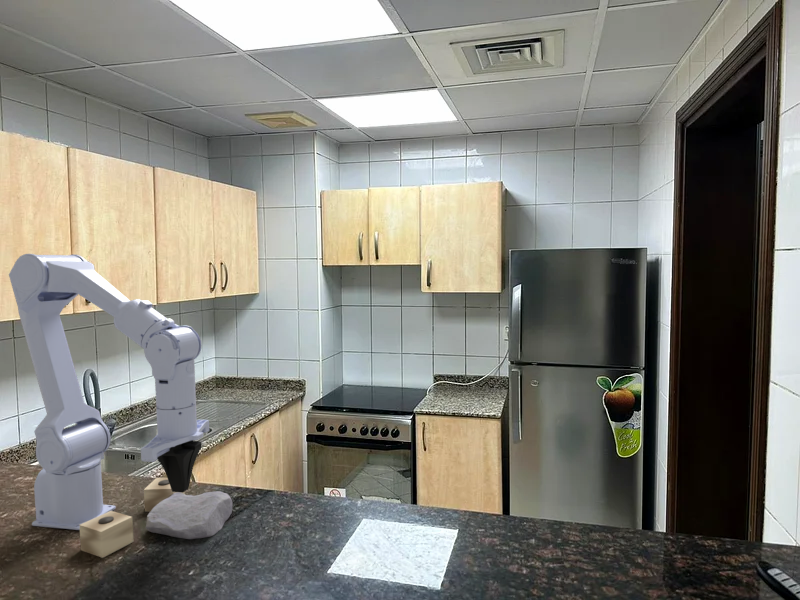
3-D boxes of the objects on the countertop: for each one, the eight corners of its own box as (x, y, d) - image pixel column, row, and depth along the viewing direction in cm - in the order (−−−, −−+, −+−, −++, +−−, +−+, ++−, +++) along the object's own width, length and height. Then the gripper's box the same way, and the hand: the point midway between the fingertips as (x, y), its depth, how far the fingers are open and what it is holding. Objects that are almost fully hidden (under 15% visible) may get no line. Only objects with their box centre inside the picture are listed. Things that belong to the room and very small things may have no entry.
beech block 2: (145, 512, 91) (143, 488, 91) (157, 499, 96) (156, 476, 96) (174, 511, 91) (173, 487, 91) (185, 498, 96) (184, 476, 96)
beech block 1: (81, 551, 79) (79, 523, 79) (112, 535, 84) (110, 509, 83) (102, 558, 77) (100, 530, 77) (133, 542, 81) (132, 515, 81)
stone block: (214, 551, 82) (237, 509, 91) (208, 524, 80) (233, 484, 90) (139, 552, 83) (170, 510, 92) (133, 526, 81) (165, 486, 91)
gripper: (170, 419, 75) (174, 513, 76) (224, 394, 89) (227, 474, 90) (126, 417, 77) (130, 509, 77) (186, 393, 91) (189, 471, 92)
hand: (180, 490), depth 84 cm, fingers closed
